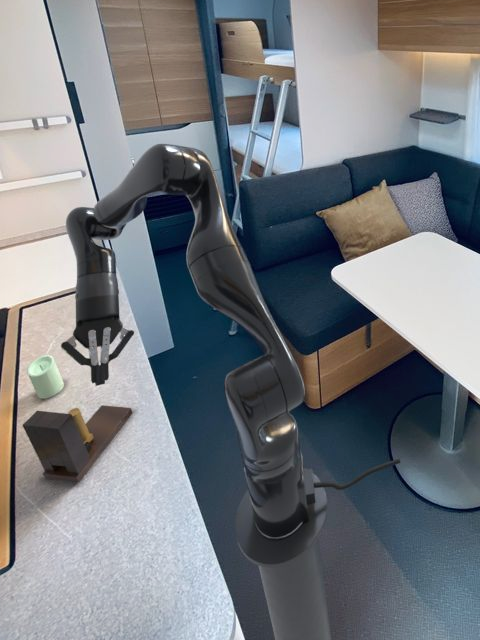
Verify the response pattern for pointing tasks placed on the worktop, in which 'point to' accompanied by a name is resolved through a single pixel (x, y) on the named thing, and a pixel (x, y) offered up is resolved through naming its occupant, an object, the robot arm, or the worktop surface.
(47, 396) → the candle
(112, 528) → the worktop surface
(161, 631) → the worktop surface
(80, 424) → the bolt
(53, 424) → the latch
